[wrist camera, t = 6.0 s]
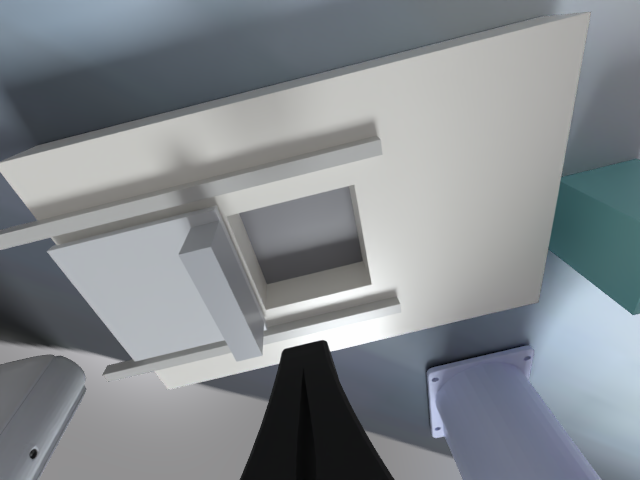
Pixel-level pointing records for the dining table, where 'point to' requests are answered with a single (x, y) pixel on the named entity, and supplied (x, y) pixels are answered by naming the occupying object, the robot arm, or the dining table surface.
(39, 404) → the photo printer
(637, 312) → the plug
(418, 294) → the socket plate
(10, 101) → the dining table surface
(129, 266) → the shutter
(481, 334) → the dining table surface
